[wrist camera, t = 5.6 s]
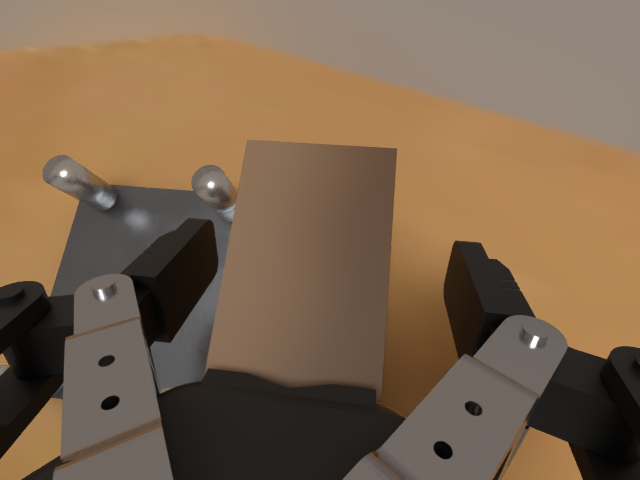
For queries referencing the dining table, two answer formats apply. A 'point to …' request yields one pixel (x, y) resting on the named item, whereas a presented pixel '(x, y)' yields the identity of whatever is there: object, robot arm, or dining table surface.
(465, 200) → the dining table surface
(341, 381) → the brown wooden block
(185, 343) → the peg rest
